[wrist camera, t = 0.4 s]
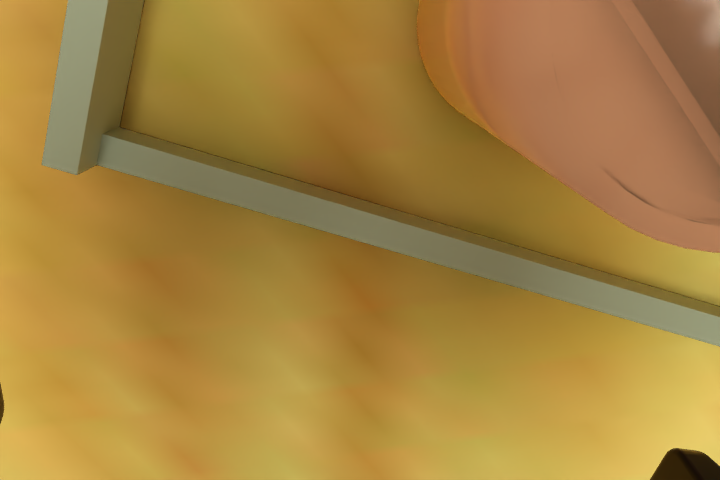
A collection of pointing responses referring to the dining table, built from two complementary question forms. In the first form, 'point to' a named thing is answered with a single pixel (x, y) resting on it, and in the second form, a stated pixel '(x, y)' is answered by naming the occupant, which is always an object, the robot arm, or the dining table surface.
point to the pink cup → (595, 99)
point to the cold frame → (306, 185)
